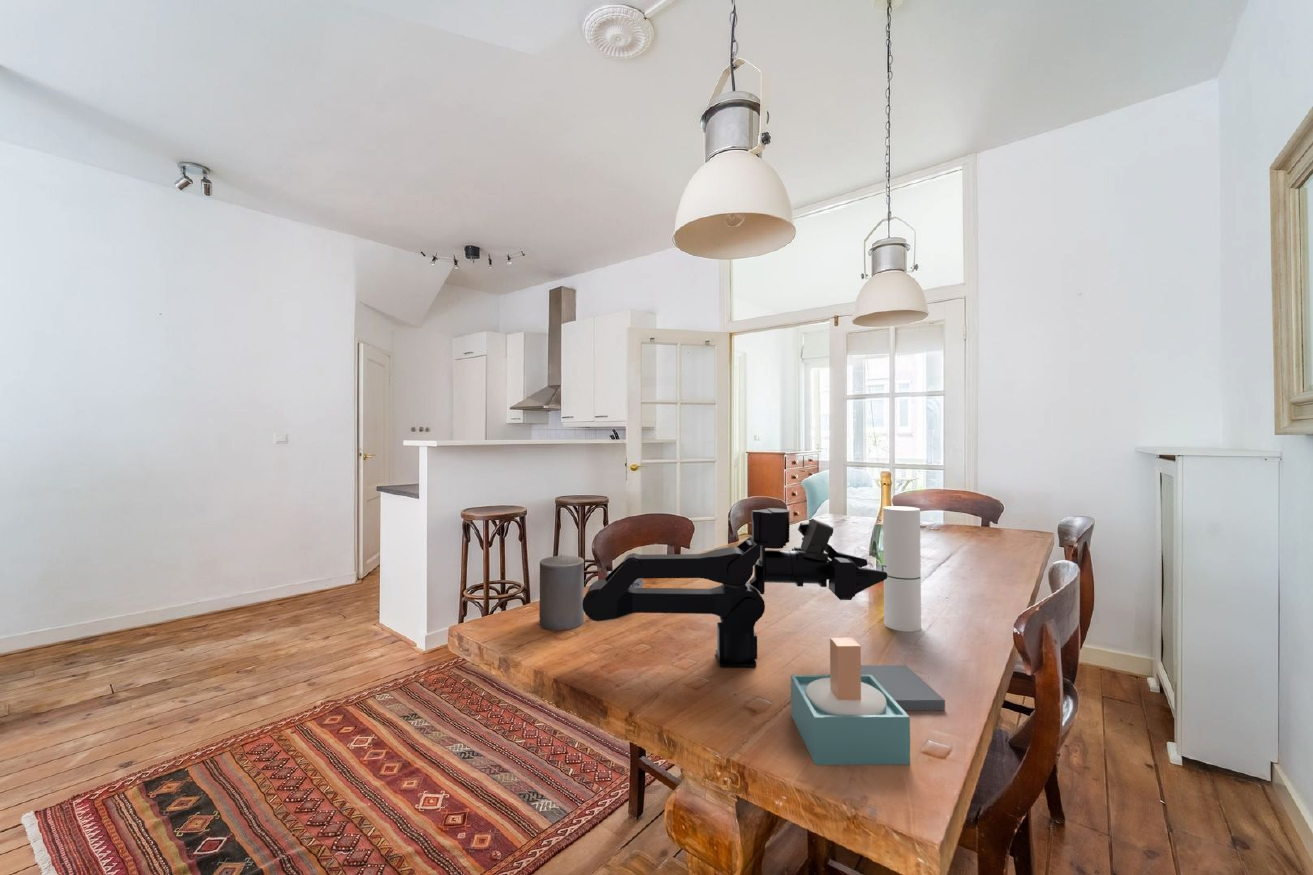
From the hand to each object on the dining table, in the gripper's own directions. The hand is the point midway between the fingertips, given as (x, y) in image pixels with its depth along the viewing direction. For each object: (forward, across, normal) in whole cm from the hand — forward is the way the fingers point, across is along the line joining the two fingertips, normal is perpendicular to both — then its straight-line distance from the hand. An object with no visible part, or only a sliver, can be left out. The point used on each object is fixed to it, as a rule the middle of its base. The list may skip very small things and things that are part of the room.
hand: (876, 568), depth 94 cm
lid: (-13, -25, +12) cm, 31 cm away
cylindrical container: (+12, +18, +17) cm, 27 cm away
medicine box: (-48, +29, +18) cm, 59 cm away
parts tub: (-13, -25, +16) cm, 33 cm away
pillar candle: (-60, +19, +18) cm, 66 cm away
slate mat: (-3, -12, +16) cm, 20 cm away
